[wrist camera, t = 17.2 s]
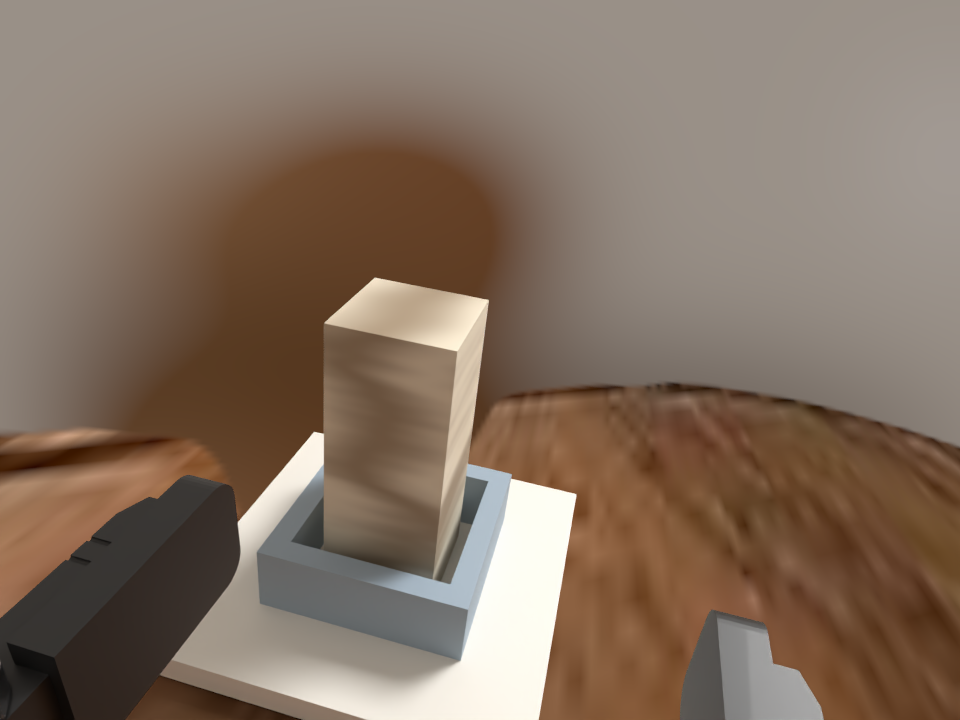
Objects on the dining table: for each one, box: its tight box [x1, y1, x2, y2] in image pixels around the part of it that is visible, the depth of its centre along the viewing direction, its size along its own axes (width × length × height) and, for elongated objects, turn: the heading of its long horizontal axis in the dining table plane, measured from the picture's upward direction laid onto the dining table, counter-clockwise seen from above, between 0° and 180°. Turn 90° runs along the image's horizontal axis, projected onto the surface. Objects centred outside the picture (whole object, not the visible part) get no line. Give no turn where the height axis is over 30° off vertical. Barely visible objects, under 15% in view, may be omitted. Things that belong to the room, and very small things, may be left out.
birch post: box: [324, 278, 489, 582], centre depth 29 cm, size 5×5×13 cm
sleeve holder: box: [160, 432, 576, 720], centre depth 31 cm, size 16×16×4 cm
